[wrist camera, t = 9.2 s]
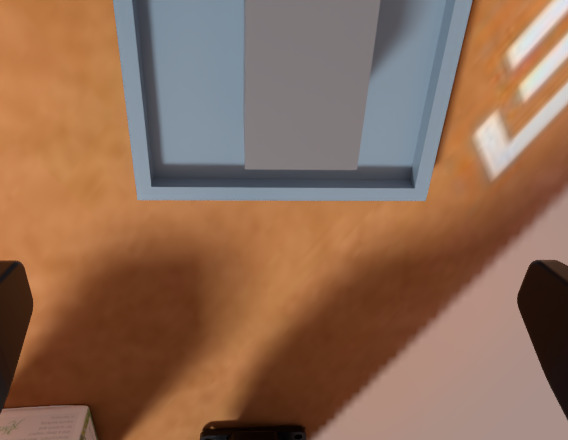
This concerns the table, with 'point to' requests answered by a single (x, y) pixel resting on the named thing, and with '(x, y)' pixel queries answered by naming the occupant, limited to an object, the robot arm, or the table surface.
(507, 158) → the table surface
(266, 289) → the table surface
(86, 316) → the table surface
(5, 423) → the syrup box
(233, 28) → the dish
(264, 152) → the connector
